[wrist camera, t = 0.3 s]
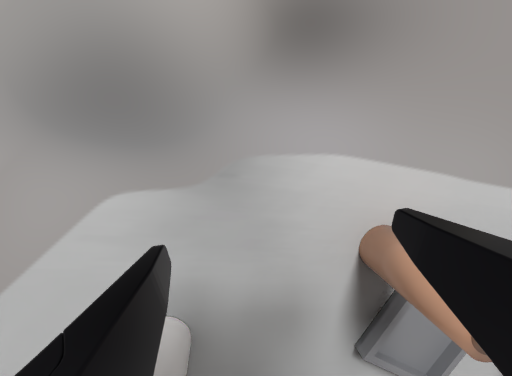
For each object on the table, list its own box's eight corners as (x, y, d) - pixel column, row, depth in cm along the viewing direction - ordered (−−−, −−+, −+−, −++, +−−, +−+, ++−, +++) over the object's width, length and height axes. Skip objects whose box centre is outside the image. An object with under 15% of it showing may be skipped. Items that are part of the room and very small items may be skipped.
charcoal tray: (422, 377, 33) (435, 392, 31) (354, 345, 30) (363, 359, 28) (501, 276, 31) (520, 285, 29) (436, 233, 28) (451, 240, 26)
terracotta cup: (384, 274, 29) (500, 373, 16) (350, 255, 28) (448, 345, 15) (410, 238, 28) (551, 311, 16) (377, 216, 27) (501, 278, 15)
